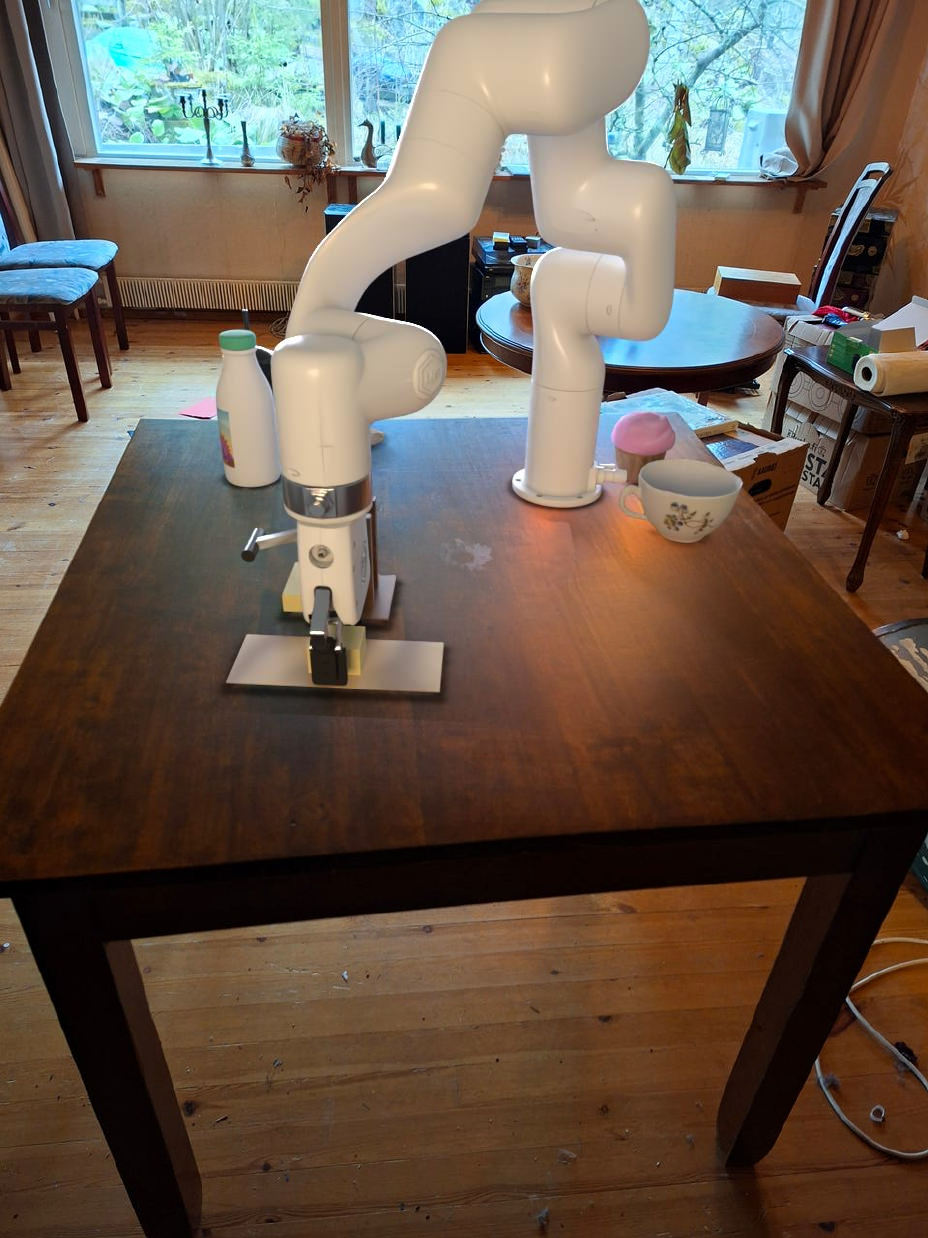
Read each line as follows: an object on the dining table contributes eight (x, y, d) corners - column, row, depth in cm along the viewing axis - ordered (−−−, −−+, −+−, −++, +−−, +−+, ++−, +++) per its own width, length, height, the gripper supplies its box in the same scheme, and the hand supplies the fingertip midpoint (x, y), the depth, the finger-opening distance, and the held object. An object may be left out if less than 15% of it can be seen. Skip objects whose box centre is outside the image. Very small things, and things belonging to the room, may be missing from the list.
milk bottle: (288, 468, 121) (274, 327, 110) (272, 490, 114) (257, 343, 103) (236, 464, 121) (217, 323, 110) (218, 486, 115) (196, 339, 104)
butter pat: (366, 651, 82) (365, 626, 81) (360, 675, 79) (359, 650, 77) (316, 649, 82) (313, 623, 81) (308, 673, 79) (306, 647, 77)
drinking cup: (294, 441, 130) (283, 307, 119) (265, 457, 124) (250, 319, 113) (254, 432, 132) (239, 300, 121) (223, 448, 126) (205, 311, 115)
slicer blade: (246, 567, 86) (236, 547, 85) (257, 544, 90) (248, 525, 89) (365, 540, 84) (358, 520, 83) (371, 518, 88) (364, 498, 87)
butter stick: (321, 585, 94) (320, 562, 92) (310, 619, 88) (308, 596, 87) (297, 584, 94) (295, 561, 92) (284, 618, 88) (281, 594, 87)
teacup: (709, 510, 113) (721, 455, 109) (744, 555, 103) (759, 496, 99) (601, 512, 112) (609, 456, 107) (626, 558, 102) (636, 498, 97)
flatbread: (364, 427, 135) (364, 421, 134) (394, 440, 130) (394, 434, 130) (323, 439, 130) (323, 433, 129) (354, 454, 126) (353, 447, 125)
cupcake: (679, 485, 120) (691, 418, 114) (629, 495, 117) (640, 427, 111) (642, 462, 127) (652, 398, 121) (594, 471, 123) (602, 405, 118)
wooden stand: (312, 625, 87) (304, 525, 81) (326, 581, 95) (320, 486, 88) (388, 628, 87) (386, 528, 81) (396, 584, 95) (395, 489, 88)
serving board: (443, 650, 84) (444, 642, 84) (439, 700, 78) (439, 691, 77) (247, 642, 85) (246, 634, 84) (226, 691, 78) (225, 682, 77)
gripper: (358, 539, 63) (366, 712, 73) (383, 451, 78) (387, 605, 87) (260, 535, 63) (280, 708, 73) (303, 448, 78) (315, 602, 87)
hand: (338, 652), depth 80 cm, fingers open, 9 cm apart
